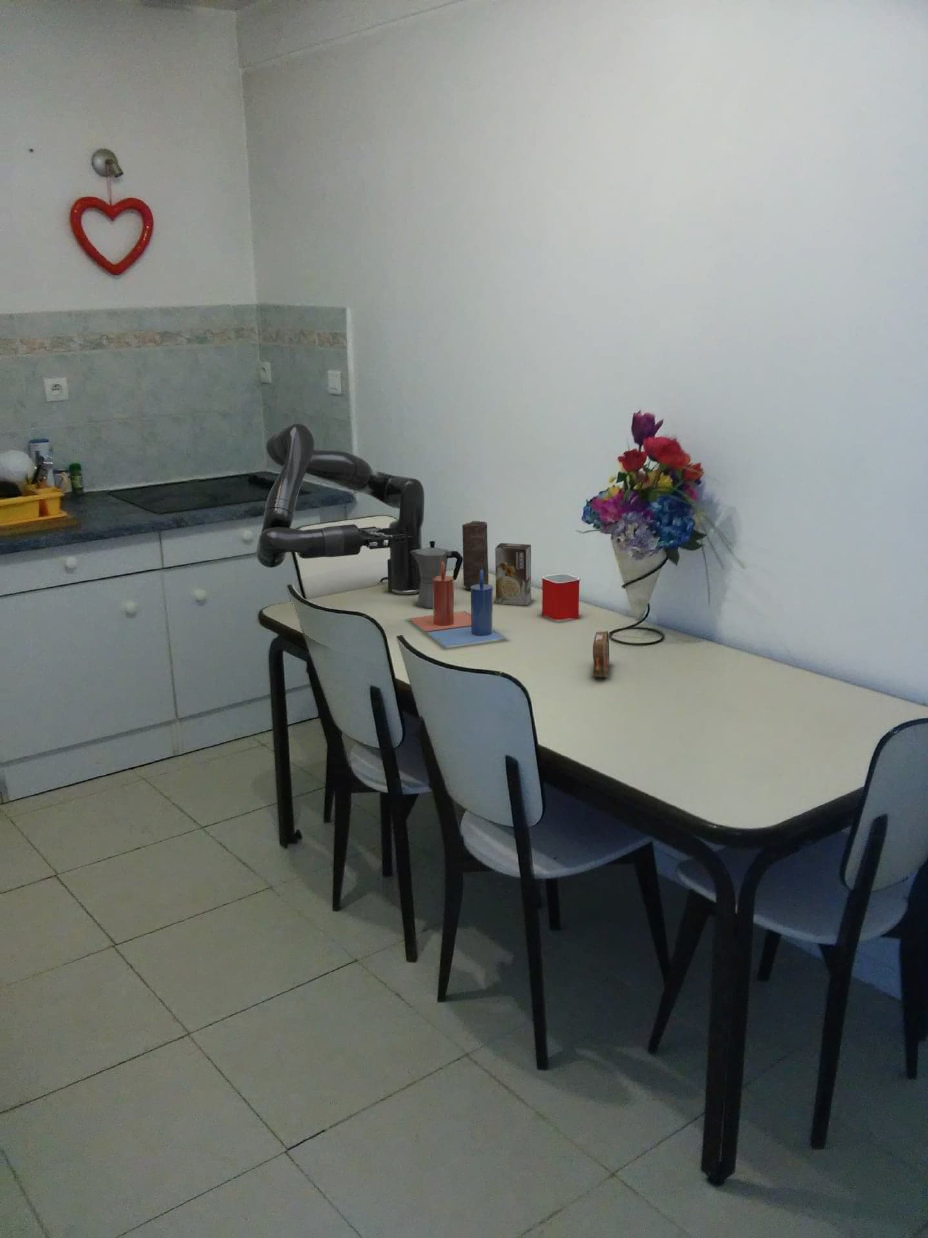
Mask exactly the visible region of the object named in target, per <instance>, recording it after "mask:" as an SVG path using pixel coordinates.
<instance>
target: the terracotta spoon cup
mask: <svg viewBox="0 0 928 1238" xmlns="http://www.w3.org/2000/svg"><path fill="white" fill-rule="evenodd" d="M454 581H455V580H454V578H453V577H452V576H450V575H445V563H444V562H443V561H442V562H441V576H436V577H433V609H432V615H433V623H434V624H435V625H439V626H448V625H452V624H454V613H455V592H454V591H455V589H454V588H455V586H454V585H455V583H454Z"/></svg>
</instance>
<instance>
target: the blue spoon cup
mask: <svg viewBox="0 0 928 1238" xmlns="http://www.w3.org/2000/svg"><path fill="white" fill-rule="evenodd" d="M470 615H471V633H472V634H473V635H476V636H487V635H491V634H492V633H493V631H494V630H493V626H494V625H493V621H494V620H493V586H492V585H490V584H489V585H486V584H483V570H480V584H477V585H473V586H471V589H470Z"/></svg>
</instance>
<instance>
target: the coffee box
mask: <svg viewBox="0 0 928 1238" xmlns="http://www.w3.org/2000/svg"><path fill="white" fill-rule="evenodd" d="M494 549H495V550H494V555H495V556H494V559H495V560H494V561H495V563H494V564H495V604H498V605H499V604H500V605H513V606H514V605H516V606H528V604H530V602H531V601H532V545H531V544H526V543H525V544H524V543H508V542H507V543H506V542H505V543H504V542H500V543H499V544H497V545H496V547H495V548H494Z"/></svg>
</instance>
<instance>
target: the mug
mask: <svg viewBox="0 0 928 1238" xmlns="http://www.w3.org/2000/svg"><path fill="white" fill-rule="evenodd" d="M580 581H581V578H580V577H578V576H575V575H572V574H569V573H565V572H560V573H553V574H548V575H543V576H541V591H542V592H541V594H542V595H541V596H542V597H541V599H542V600H541V601H542V602H541V615H542V616H545V617H546V618H550V619H552V620H556V621H562V620H568V619H572V620H575V619H579V616H580V614H579V613H580Z"/></svg>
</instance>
